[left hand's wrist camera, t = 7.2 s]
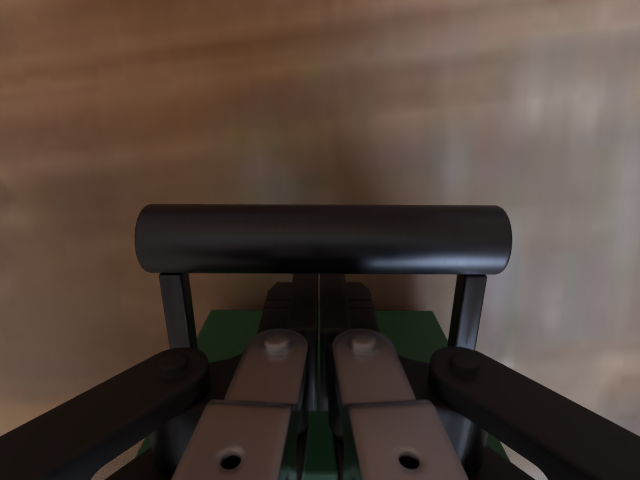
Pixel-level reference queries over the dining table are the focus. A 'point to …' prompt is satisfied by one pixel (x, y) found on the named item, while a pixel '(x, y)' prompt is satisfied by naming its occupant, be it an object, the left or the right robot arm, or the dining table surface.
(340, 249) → the drawer
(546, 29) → the dining table surface
